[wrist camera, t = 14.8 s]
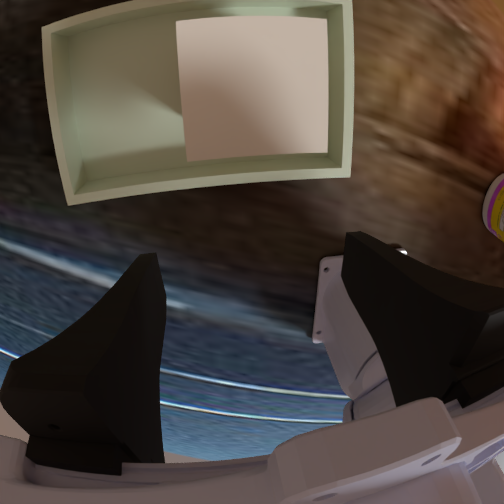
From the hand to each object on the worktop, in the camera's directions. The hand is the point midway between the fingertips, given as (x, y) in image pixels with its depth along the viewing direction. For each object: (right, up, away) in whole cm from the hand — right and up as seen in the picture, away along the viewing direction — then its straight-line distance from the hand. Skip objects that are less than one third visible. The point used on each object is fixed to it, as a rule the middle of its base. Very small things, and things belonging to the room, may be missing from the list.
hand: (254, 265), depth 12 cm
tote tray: (-3, +10, +5) cm, 12 cm away
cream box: (-1, +8, +1) cm, 8 cm away
